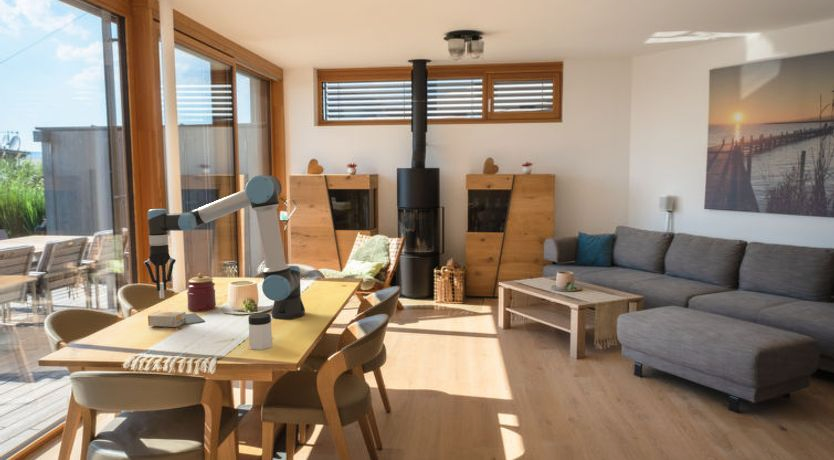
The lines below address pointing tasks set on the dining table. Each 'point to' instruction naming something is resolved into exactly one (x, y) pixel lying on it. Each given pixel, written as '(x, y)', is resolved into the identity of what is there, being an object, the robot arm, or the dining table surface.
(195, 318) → the mat
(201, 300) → the canister
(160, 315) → the supplement box
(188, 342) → the dining table surface
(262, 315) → the jar
